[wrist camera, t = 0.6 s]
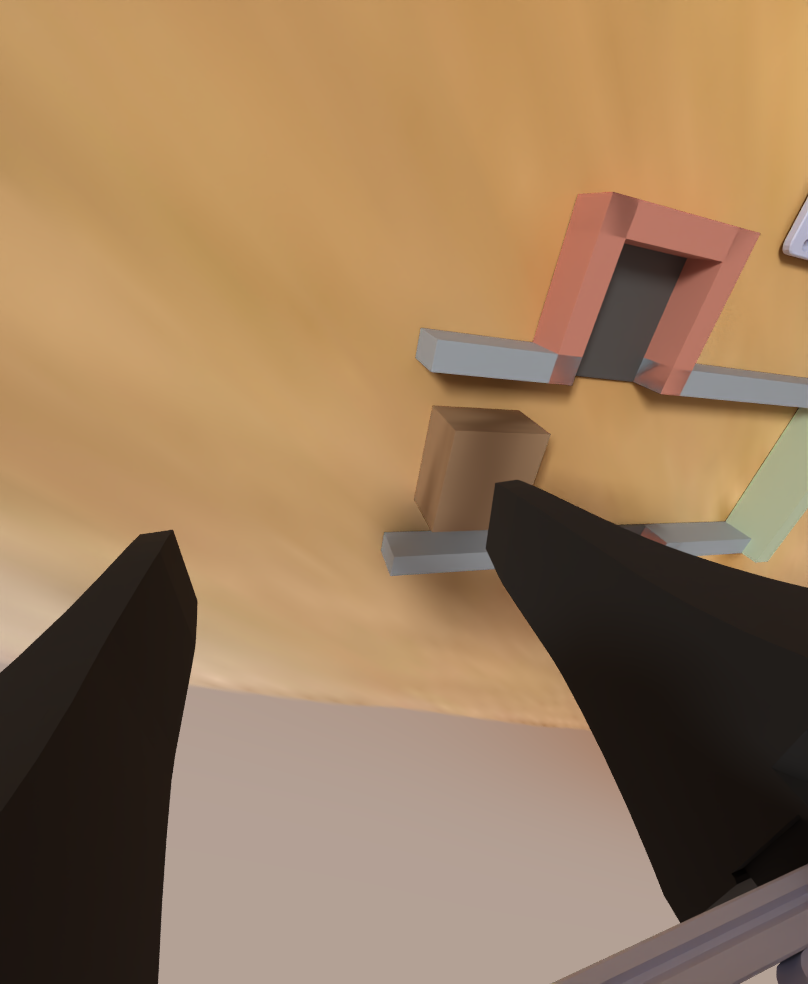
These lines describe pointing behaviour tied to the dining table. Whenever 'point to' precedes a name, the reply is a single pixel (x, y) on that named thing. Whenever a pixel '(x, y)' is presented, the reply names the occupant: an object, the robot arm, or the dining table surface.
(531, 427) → the walnut block
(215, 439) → the dining table surface
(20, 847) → the robot arm
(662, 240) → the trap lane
